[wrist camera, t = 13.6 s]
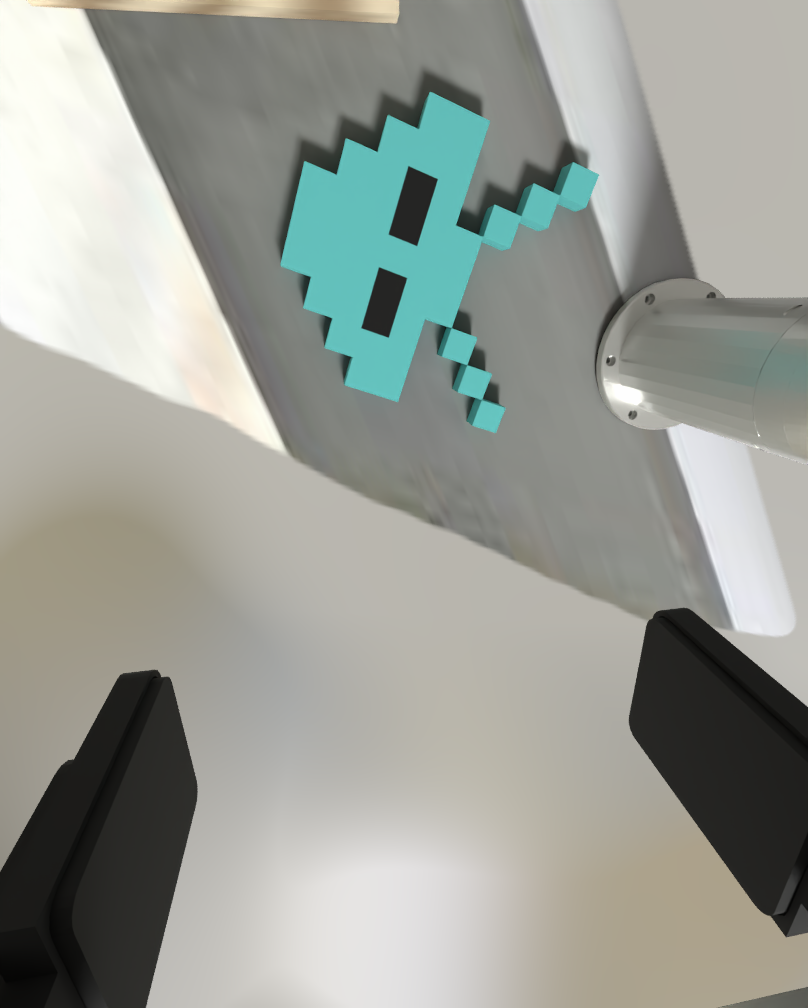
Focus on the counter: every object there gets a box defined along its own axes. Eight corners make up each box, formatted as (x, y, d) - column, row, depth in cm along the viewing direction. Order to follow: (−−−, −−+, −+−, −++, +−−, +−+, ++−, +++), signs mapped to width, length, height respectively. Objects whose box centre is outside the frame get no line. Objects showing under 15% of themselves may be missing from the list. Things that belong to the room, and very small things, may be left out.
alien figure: (584, 181, 38) (331, 58, 33) (599, 174, 36) (331, 42, 31) (487, 426, 45) (262, 355, 40) (495, 432, 43) (258, 358, 38)
